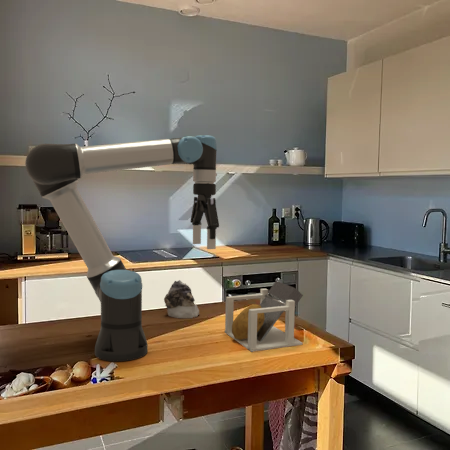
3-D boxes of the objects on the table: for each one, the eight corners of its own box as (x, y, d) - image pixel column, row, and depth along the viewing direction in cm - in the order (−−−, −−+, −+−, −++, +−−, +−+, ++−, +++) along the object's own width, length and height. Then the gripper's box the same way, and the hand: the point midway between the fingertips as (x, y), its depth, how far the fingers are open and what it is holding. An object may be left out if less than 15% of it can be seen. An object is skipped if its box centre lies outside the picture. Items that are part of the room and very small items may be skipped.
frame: (251, 351, 142) (252, 305, 141) (224, 332, 161) (225, 291, 159) (302, 344, 149) (304, 300, 148) (271, 326, 168) (272, 287, 167)
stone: (203, 316, 184) (204, 287, 176) (189, 332, 177) (189, 302, 169) (174, 303, 190) (173, 274, 182) (159, 318, 183) (157, 289, 174)
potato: (273, 326, 147) (258, 318, 144) (245, 349, 152) (230, 342, 148) (265, 303, 154) (251, 296, 151) (238, 326, 159) (224, 319, 155)
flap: (268, 347, 148) (259, 340, 146) (247, 334, 161) (239, 327, 159) (305, 296, 152) (297, 288, 150) (282, 286, 165) (274, 280, 163)
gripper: (230, 183, 149) (229, 250, 150) (201, 183, 171) (201, 241, 173) (207, 182, 146) (206, 251, 147) (181, 182, 168) (181, 242, 170)
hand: (203, 246), depth 160 cm, fingers open, 13 cm apart
